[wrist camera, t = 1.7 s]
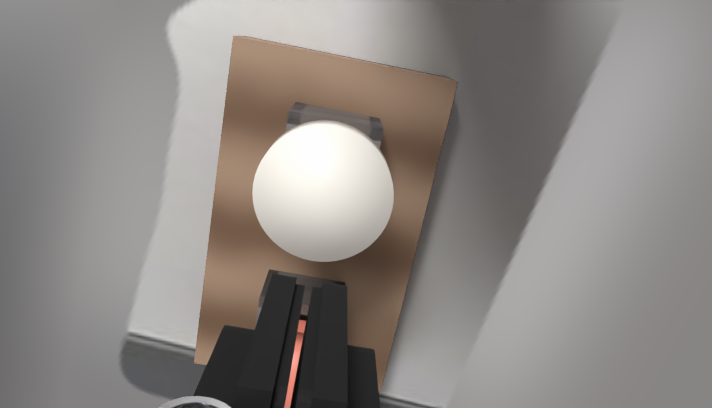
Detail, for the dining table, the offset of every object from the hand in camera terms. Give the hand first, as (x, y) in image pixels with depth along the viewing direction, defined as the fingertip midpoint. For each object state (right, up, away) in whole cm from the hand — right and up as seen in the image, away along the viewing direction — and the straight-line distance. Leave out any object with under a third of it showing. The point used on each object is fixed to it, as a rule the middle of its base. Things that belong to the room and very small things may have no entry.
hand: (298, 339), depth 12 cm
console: (-1, +2, +22) cm, 22 cm away
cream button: (0, +5, +14) cm, 15 cm away
